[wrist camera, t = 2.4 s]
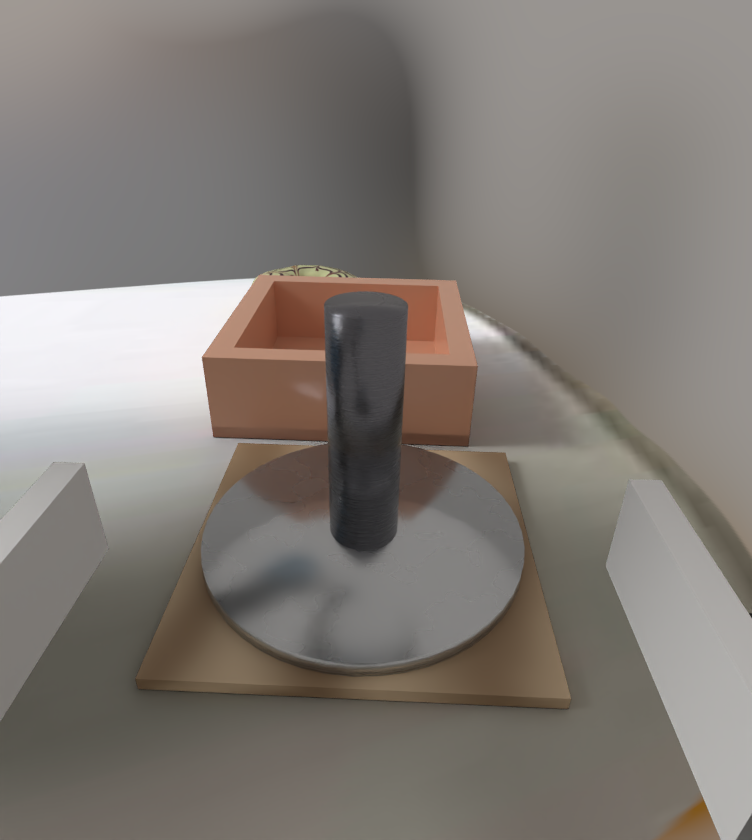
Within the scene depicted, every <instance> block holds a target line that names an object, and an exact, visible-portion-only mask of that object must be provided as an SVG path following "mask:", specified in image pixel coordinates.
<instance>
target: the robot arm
mask: <svg viewBox="0 0 752 840" xmlns="http://www.w3.org/2000/svg"><path fill="white" fill-rule="evenodd" d="M108 549H109V548H108V544H107V541H106V537H105V534H104V530H103V527H102V523H101V520H100V516H99V513H98V509H97V506H96V502H95V499H94V495H93V492H92V488H91V484H90V481H89V477H88V474H87V470H86V467H85V463H68V462H53V463H52V464H51V465H50V466H49V468H48V469H47V470H46V471H45V472H44V473H43V474H42V475H41V476H40V477H39V478H38V480H37V481H36V482H35V483H34V484H33V485H32V486H31V487H30V488H29V489H28V490H27V492H26V493H25V494H24V495H23V496H22V497H21V498H20V499H19V500H18V501H17V502H16V504H15V505H14V506H13V507H12V508H11V509H10V510H9V511H8V512H7V513H6V514H5V516H4V517H3V518H2V519H1V520H0V721H1V720H2V718H3V716H4V715H5V713H6V712H7V710H8V708H9V707H10V705H11V704H12V702H13V701H14V699H15V697H16V696H17V694H18V693H19V691H20V689H21V688H22V686H23V685H24V683H25V681H26V680H27V678H28V677H29V675H30V673H31V672H32V670H33V669H34V667H35V665H36V664H37V662H38V661H39V659H40V658H41V656H42V654H43V653H44V651H45V650H46V648H47V646H48V645H49V643H50V642H51V640H52V638H53V637H54V635H55V634H56V632H57V630H58V629H59V627H60V626H61V624H62V623H63V621H64V619H65V618H66V616H67V615H68V613H69V611H70V610H71V608H72V607H73V605H74V603H75V602H76V600H77V599H78V597H79V595H80V594H81V592H82V591H83V589H84V587H85V586H86V584H87V583H88V581H89V580H90V578H91V576H92V575H93V573H94V572H95V570H96V568H97V567H98V565H99V564H100V562H101V560H102V559H103V557H104V556H105V554H106V552H107V551H108ZM605 566H606V568H607V571H608V573H609V575H610V578H611V580H612V583H613V585H614V587H615V590H616V592H617V594H618V597H619V599H620V602H621V604H622V606H623V609H624V611H625V613H626V616H627V618H628V621H629V623H630V625H631V628H632V630H633V632H634V635H635V637H636V640H637V642H638V644H639V647H640V649H641V651H642V654H643V656H644V659H645V661H646V663H647V666H648V668H649V670H650V673H651V675H652V678H653V680H654V682H655V685H656V687H657V689H658V692H659V694H660V697H661V699H662V701H663V704H664V706H665V708H666V711H667V713H668V716H669V718H670V720H671V723H672V725H673V727H674V730H675V732H676V735H677V737H678V739H679V742H680V744H681V746H682V749H683V751H684V754H685V756H686V758H687V761H688V763H689V765H690V768H691V770H692V773H693V775H694V777H695V780H696V782H697V784H698V787H699V789H700V792H701V794H702V796H703V799H704V801H705V803H706V805H707V808H708V810H709V813H710V815H711V818H712V820H713V822H714V825H715V827H716V830H717V832H718V834H719V837H720V839H721V840H752V613H748V612H747V610H746V609H745V607H744V606H743V604H742V603H741V601H740V600H739V598H738V596H737V595H736V593H735V592H734V590H733V589H732V587H731V586H730V584H729V583H728V581H727V580H726V578H725V577H724V575H723V573H722V572H721V570H720V569H719V567H718V566H717V564H716V563H715V561H714V560H713V558H712V557H711V555H710V554H709V552H708V550H707V549H706V547H705V546H704V544H703V543H702V541H701V540H700V538H699V537H698V535H697V534H696V532H695V531H694V529H693V528H692V526H691V524H690V523H689V521H688V520H687V518H686V517H685V515H684V514H683V512H682V511H681V509H680V508H679V506H678V505H677V503H676V501H675V500H674V498H673V497H672V495H671V494H670V492H669V491H668V489H667V488H666V486H665V485H664V483H663V482H662V480H641V479H629V481H628V484H627V488H626V492H625V495H624V499H623V503H622V506H621V510H620V514H619V517H618V521H617V525H616V528H615V532H614V536H613V540H612V543H611V547H610V551H609V554H608V558H607V562H606V565H605Z"/></svg>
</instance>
